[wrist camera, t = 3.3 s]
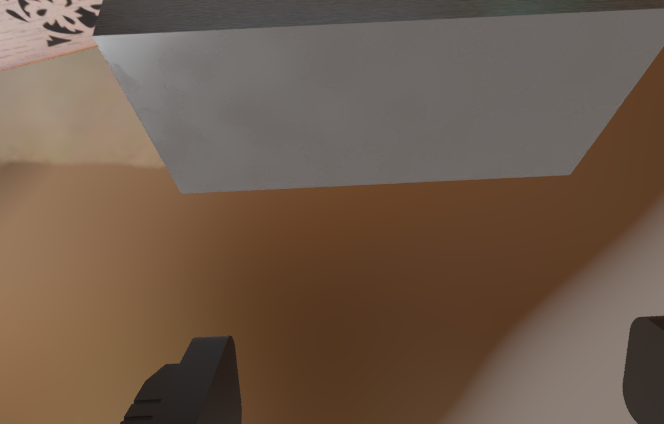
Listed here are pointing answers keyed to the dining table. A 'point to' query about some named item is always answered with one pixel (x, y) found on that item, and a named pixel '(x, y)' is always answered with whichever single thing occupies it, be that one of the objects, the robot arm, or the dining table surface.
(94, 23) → the tissue box cover
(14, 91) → the dining table surface
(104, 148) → the dining table surface
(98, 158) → the dining table surface
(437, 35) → the mounted unit
